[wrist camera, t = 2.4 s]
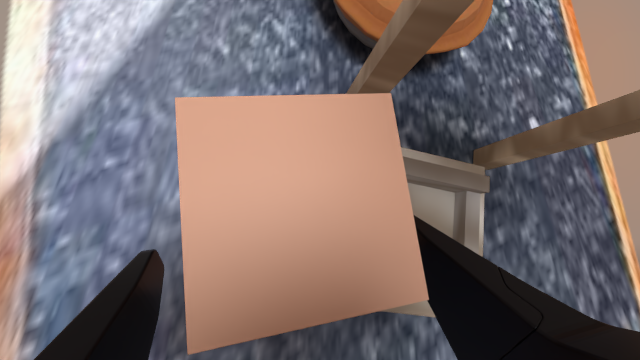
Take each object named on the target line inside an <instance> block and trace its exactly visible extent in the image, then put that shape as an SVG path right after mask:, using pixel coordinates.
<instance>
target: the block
mask: <svg viewBox="0 0 640 360" xmlns="http://www.w3.org/2000/svg"><path fill="white" fill-rule="evenodd" d="M175 106H176V127H177V148H178V168H179V189H180V209H181V230H182V251H183V271H184V292H185V312H186V333H187V353H188V355H189V354H194V353H198V352H202V351H207V350H211V349H216V348H220V347H224V346H229V345H233V344H237V343H242V342H246V341H251V340H255V339H259V338H264V337H268V336H273V335H277V334H281V333H286V332H290V331H294V330H299V329H303V328H308V327H312V326H316V325H321V324H325V323H329V322H334V321H338V320H343V319H347V318H351V317H356V316H360V315H364V314H369V313H373V312H378V311H382V310H386V309H391V308H395V307H399V306H404V305H408V304H413V303H417V302H421V301H426V300H429V297H428V291H427V286H426V281H425V275H424V270H423V264H422V259H421V253H420V248H419V243H418V237H417V232H416V226H415V221H414V216H413V210H412V205H411V199H410V194H409V189H408V183H407V178H406V172H405V167H404V161H403V156H402V151H401V145H400V140H399V134H398V129H397V124H396V118H395V113H394V107H393V102H392V96H391V93H373V94H326V95H278V96H230V97H183V98H175Z"/></svg>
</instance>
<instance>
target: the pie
mask: <svg viewBox="0 0 640 360" xmlns="http://www.w3.org/2000/svg"><path fill="white" fill-rule="evenodd" d="M402 1H403V0H333V2H334V5H335V7H336V10H337V13H338V16H339V17H340V19H341V20H342V22H343V23H344V25H345V26H346V27H347V29H348V30H349V32H351V33H352V34H353V35H354V36H355V37H356V38H357V39H358V40H360V41H361V42H362V43H363V44H364V45H366V46H368V47H370V48H372V49H373V48H374V47H375V45H376V44H377V42H378V40H379V39H380V37H381V35H382V34H383V32H384V30H385V29H386V27H387V25H388V24H389V22H390V20H391V19H392V17H393V15H394V14H395V12H396V10H397V9H398V7H399V6H400V4H401V2H402ZM492 4H493V0H474V2H473V3H472V4H471V5H470V6H469V7H468V8H467V9H466V10H465V11H464V12H463V13H462V14H461V16H460V17H459V18H458V19H457V20H456V21H455V22H454V23H453V24H452V25H451V26H450V27H449V29H448V30H447V31H446V32H445V33H444V34H443V35H442V36H441V37H440V38H439V39H438V40H437V42H436V43H435V44H434V45H433V46H432V47H431V48H430V49H429V50H428V51H427V52H426V53H425V54H435V53H442V52H447V51H450V50H454V49H457V48H461V47H465V46H467V45H468V44H469V43H470V42H471V41H472V40H473V39H474V38H475V37H477V36H478V35H479V34H480V33H481V32H482V31H483V29H484V27H485V24H486V22H487V20H488V18H489V16H490V14H491V10H492Z"/></svg>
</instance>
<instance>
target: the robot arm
mask: <svg viewBox="0 0 640 360" xmlns="http://www.w3.org/2000/svg"><path fill="white" fill-rule="evenodd" d="M413 216H414V221H415V226H416V232H417V237H418V243H419V248H420V253H421V259H422V264H423V270H424V275H425V281H426V286H427V291H428V297H429V300H427V301H428V303H429V305H430V307H431V309H432V311H433V313H434V315H435V317H436V319H437V320H438V322H439V324H440V326H441V328H442V330H443V332H444V334H445V336H446V338H447V340H448V342H449V344H450V346H451V347H452V349H453V351H454V353H455V355H456V357H457V359H458V360H640V332H638V331H633V330H628V329H623V328H619V327H615V326H611V325H608V324H605V323H602V322H600V321H597V320H595V319H593V318H590V317H588V316H586V315H584V314H583V313H581V312H579V311H577V310H575V309H573V308H571V307H569V306H568V305H566V304H564V303H562V302H560V301H558V300H556V299H555V298H553V297H551V296H549V295H547V294H545V293H543V292H541V291H540V290H538V289H536V288H534V287H532V286H531V285H529V284H527V283H525V282H524V281H522V280H520V279H518V278H517V277H515V276H513V275H512V274H510V273H508V272H507V271H505V270H503V269H502V268H500V267H498V266H497V265H495V264H493V263H492V262H490V261H489V260H487V259H485V258H484V257H482V256H480V255H479V254H477V253H475V252H474V251H472V250H471V249H469V248H467V247H466V246H464V245H462V244H461V243H459V242H457V241H456V240H454V239H452V238H451V237H449V236H448V235H446V234H444V233H443V232H441V231H439V230H438V229H436V228H434V227H433V226H431V225H430V224H428V223H426V222H425V221H423V220H421V219H420V218H418V217H416V216H415V215H413ZM163 277H164V264H163V262H162V260H161V258H160V256H159V254H158V252H157V251H156V250H154V249H153V250H146V251H141V252H140V253H139V254H138V255H137V256H136V257H135V258H134V259H133V260H132V261H131V262H130V263H129V264H128V265H127V266H126V267H125V268H124V269H123V270H122V271H121V272H120V273H119V274H118V275H117V276H116V277H115V278H114V279H113V280H112V281H111V282H110V283H109V284H108V285H107V286H106V287H105V288H104V289H103V290H102V291H101V292H100V293H99V294H98V295H97V296H96V297H95V298H94V299H93V300H92V301H91V302H90V303H89V304H88V305H87V306H86V307H85V308H84V309H83V310H82V311H81V312H80V313H79V314H78V315H77V316H76V317H75V318H74V319H73V320H72V321H71V322H70V324H69V325H68V326H67V327H66V328H65V329H64V330H63V331H62V332H61V333H60V334H59V335H58V336H57V337H56V338H55V339H54V340H53V341H52V342H51V343H50V344H49V345H48V346H47V347H46V348H45V349H44V350H43V351H42V352H41V353H40V354H39V355H38V356H37V357H36V358H35V359H34V360H148V357H149V353H150V349H151V345H152V341H153V337H154V333H155V329H156V325H157V321H158V316H159V309H160V301H161V293H162V285H163Z"/></svg>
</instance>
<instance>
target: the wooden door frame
mask: <svg viewBox="0 0 640 360" xmlns="http://www.w3.org/2000/svg"><path fill="white" fill-rule="evenodd" d="M473 2H474V0H403V1H402V2H401V4H400V6H399V7H398V9H397V10H396V12H395V14H394V15H393V17H392V19H391V20H390V22H389V24H388V25H387V27H386V29H385V30H384V32H383V34H382V35H381V37H380V39H379V40H378V42H377V44H376V45H375V47H374V48H373V50H372V52H371V53H370V55H369V57H368V58H367V60H366V62H365V63H364V65H363V67H362V68H361V70H360V72H359V73H358V75H357V77H356V78H355V80H354V82H353V83H352V85H351V86H350V88H349V90H348V91H347V93H346V94H373V93H389V92H390V91H391V90H392V89H393V88H394V87H395V86H396V85H397V84H398V83H399V82H400V80H401V79H402V78H403V77H404V76H405V75H406V74H407V73H408V72H409V71H410V70H411V69H412V67H413V66H414V65H415V64H416V63H417V62H418V61H419V60H420V59H421V58H422V57H423V56H424V55H425V53H426V52H427V51H428V50H429V49H430V48H431V47H432V46H433V45H434V44H435V43H436V42H437V40H438V39H439V38H440V37H441V36H442V35H443V34H444V33H445V32H446V31H447V30H448V29H449V27H450V26H451V25H452V24H453V23H454V22H455V21H456V20H457V19H458V18H459V17H460V16H461V14H462V13H463V12H464V11H465V10H466V9H467V8H468V7H469V6H470V5H471V4H472V3H473ZM636 132H640V90H638V91H635V92H633V93H630V94H627V95H624V96H622V97H619V98H617V99H613V100H611V101H608V102H605V103H602V104H600V105H597V106H594V107H591V108H589V109H586V110H583V111H580V112H578V113H575V114H572V115H569V116H567V117H564V118H561V119H558V120H556V121H553V122H550V123H547V124H545V125H542V126H539V127H536V128H534V129H531V130H528V131H525V132H523V133H520V134H517V135H514V136H512V137H509V138H506V139H503V140H501V141H498V142H495V143H492V144H490V145H487V146H484V147H481V148H479V149H476V150H474V157H473V164H470V163H465V162H461V161H457V160H453V159H449V158H444V157H440V156H436V155H432V154H428V153H423V152H419V151H415V150H411V149H407V148H403V147H401V151H402V156H403V161H404V167H405V172H406V178H407V183H408V189H409V194H410V199H411V205H412V210H413V215H415V216H416V217H418V218H420V219H421V220H423V221H425V222H426V223H428V224H430V225H431V226H433V227H434V228H436V229H438V230H439V231H441V232H443V233H444V234H446V235H448V236H449V237H451V238H452V239H454V240H456V241H457V242H459V243H461V244H462V245H464V246H466V247H467V248H469V249H471V250H472V251H474V252H475V253H477V254H479V255H480V256H482V257H483V227H484V193H488V192H489V183H490V176H486V175H485V169H486V170H489V169H493V168H497V167H501V166H505V165H509V164H513V163H517V162H521V161H525V160H529V159H533V158H537V157H541V156H545V155H549V154H553V153H557V152H561V151H565V150H569V149H573V148H577V147H581V146H585V145H589V144H593V143H597V142H601V141H605V140H609V139H613V138H617V137H620V136H624V135H628V134H632V133H636ZM382 311H385V312H394V313H402V314H411V315H419V316H428V317H435V315H434V313H433V311H432V309H431V307H430V305H429V303H428V301H427V300H426V301H421V302H417V303H413V304H408V305H404V306H399V307H395V308H391V309H386V310H382Z"/></svg>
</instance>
